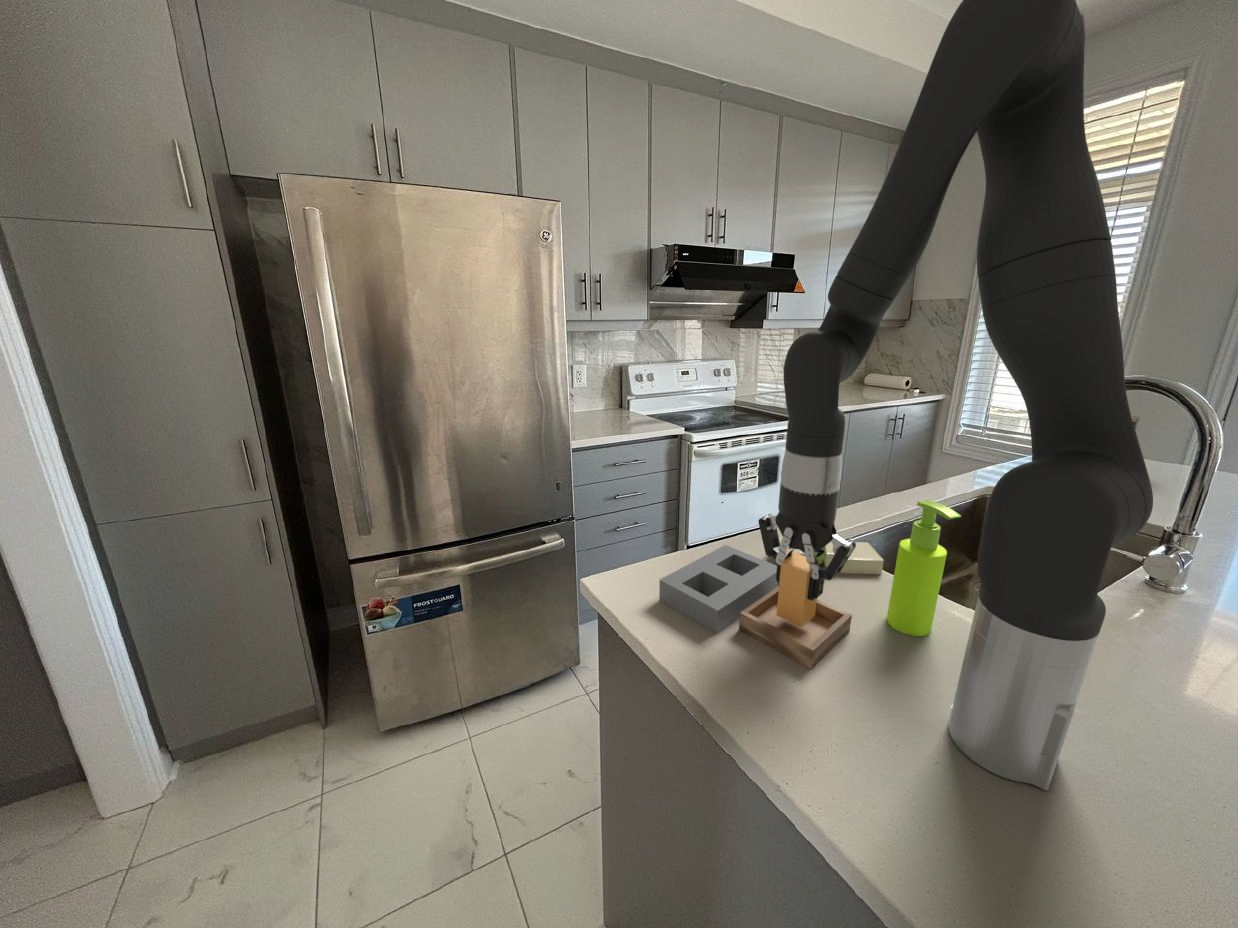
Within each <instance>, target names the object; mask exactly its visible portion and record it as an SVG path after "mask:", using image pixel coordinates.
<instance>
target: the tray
mask: <svg viewBox="0 0 1238 928" xmlns="http://www.w3.org/2000/svg"><path fill="white" fill-rule="evenodd" d="M778 592H779V586H778V587H776V588H775V589H773V590H772V591H771V592H769V593H768V594H766V595H765V596H763V597H762V598H760V599H759V600H758V601H756V602H755V603H753V604H752V605H750V606H749V607H748V608H746V609H745V610H743V611H742V612H740V618H739V623H738V630H739V631H741V632H742V633H745V634H746V635H748V636H749V637H752V638H754V639H755V640H757V641H759V642H761V643H763V644H764V645H766V646H769V647H770V648H772V649H773V650H775V651H777V652H779V653H781V654H783V655H784V656H786V657H788V658H790V659H791V660H794V661H795V662H797V663H799V664H801V665H803V666H805V667H806V668H808V669H810V670H812V669H813V668H814V667H815V666H816V665H817V664H818V663H819V662H821V660H822V659H823V658H824V657H826V655H828V654H829V653H830V651H832V649H834V648H835V647H836V646H837V645H838V644H839V642H841V641H842V640H843V639H844V638H845V637H846V636H847V635H848V634H849V633H850V630H851V625H852V624H851V623H852V617H853V615H852V614H851V613H848V612H846V611H844V610H842V609H839V608H837V607H835V606H832V605H831V604H828V603H826V602H824V601H822V600H818V599H817V603H816V611H815V616H814V617H813V618H812V619H811V620H810V621H809V622H807V623H806V624H805V625H804V626H803V627H799V626H797V625H795V624H793V623H791V622H789V621H787V620H785V619H783V618H781V617H779V616H777V615H776V614H777V603H778Z"/></svg>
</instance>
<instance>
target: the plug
mask: <svg viewBox="0 0 1238 928" xmlns="http://www.w3.org/2000/svg"><path fill="white" fill-rule="evenodd" d="M810 577H811V574H810V568H809V563H807V561H806V557H805V556H802V555H800V554H797V553H795V554H793V555H792V556H790V557H789V558H787V559H786V560H784V561H782V562H781V571H780V582H779V592H778V603H777V614H776V615H777V616H779V617H781V618H783V619H785V620H787V621H789V622H791V623H793V624H795V625H797V626H799V627H803V626H804V625H805V624H806V623H807V622H809V621H810V620H811V619H812V618H813V617H814V616H815V611H816V603H817V600H818V598H817V599H814V600H813V601H811V600H809V599H807V596H808V588H809V579H810Z"/></svg>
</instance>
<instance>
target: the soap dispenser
mask: <svg viewBox="0 0 1238 928" xmlns="http://www.w3.org/2000/svg"><path fill="white" fill-rule="evenodd" d="M916 507H920V508H922V513H921V517H920V519H919V520H914V522H913V523H912V528H911V529H912V530H911V535H910V538H905V539H901V540H900V541H899V545H898V551H897V555H896V563H895V568H894V574H893V580H892V585H891V590H890V597H889V603H888V609H887V614H886V620H887V623H888V624H889V625H890V626H891V628H893V629H894V630H896V631H898V632H899V633H902V634H906V635H908V636H913V637H922V636H923V637H924V636H927V635H929V634H930V633H931V632H932V628H933V627H932V626H933V624H934V623H933V622H934V619H935V613H936V607H937V603H938V598H939V592H940V589H941V584H942V579H943V574H944V569H945V565H946V564H945V563H946V560H947V555H948V551H947V549H946V548H945V547H943V546H942V545H940V544H939V540H940V537H941V536H940V535H941V530H942V527H941V526H940V525H939V524H937V522H936V519H937V518H936V517H937V514H938V515H940V516H942V517H943V518H944V519H946V520H955V519H960V518H962V515H961V514H959V513H958V512H956V511H955V510H954V509H952V508H950V507H948V506H946V505H944V504H942V503H938V502H935V501H932V500H921V501H917V504H916Z"/></svg>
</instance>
